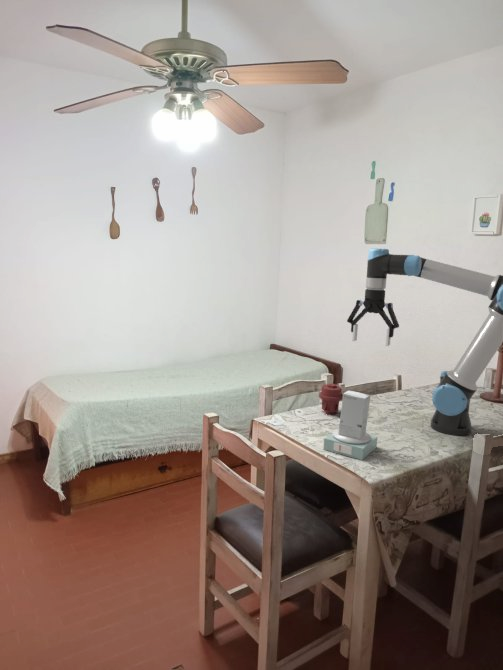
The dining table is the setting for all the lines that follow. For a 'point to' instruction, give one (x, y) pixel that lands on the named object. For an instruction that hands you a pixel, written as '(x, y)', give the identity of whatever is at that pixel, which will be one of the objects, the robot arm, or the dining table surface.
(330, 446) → the kitchen scale
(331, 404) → the mechanical component
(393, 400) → the dining table surface
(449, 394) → the robot arm
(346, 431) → the skincare box
